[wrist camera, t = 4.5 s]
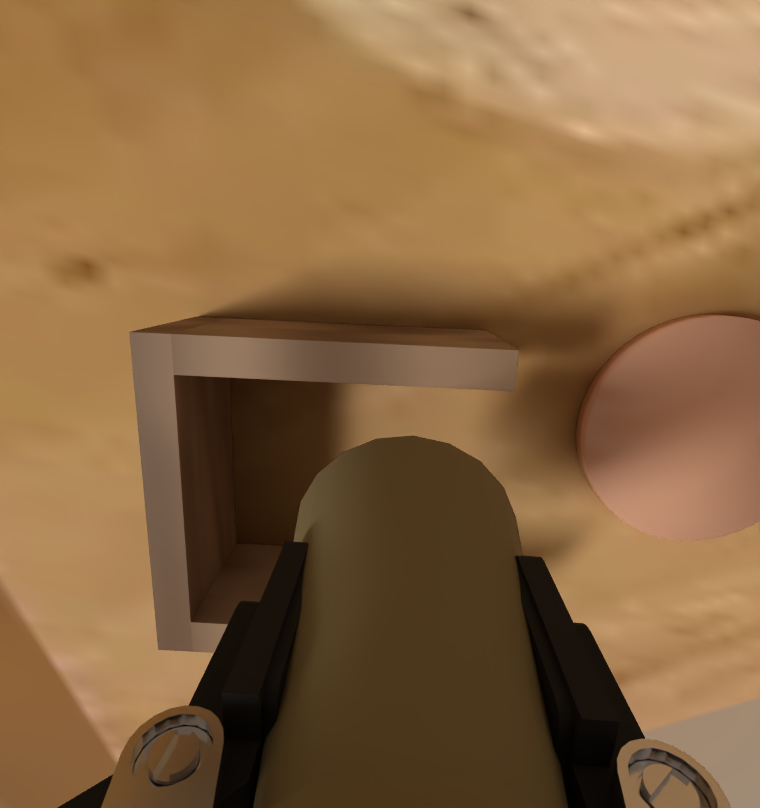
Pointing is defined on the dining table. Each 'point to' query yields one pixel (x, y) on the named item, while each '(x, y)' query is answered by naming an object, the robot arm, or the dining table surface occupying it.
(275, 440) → the dining table surface
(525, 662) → the olive peg doll
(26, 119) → the dining table surface
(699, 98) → the dining table surface
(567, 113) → the dining table surface
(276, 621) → the robot arm
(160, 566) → the walnut shelf bay
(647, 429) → the terracotta coaster
